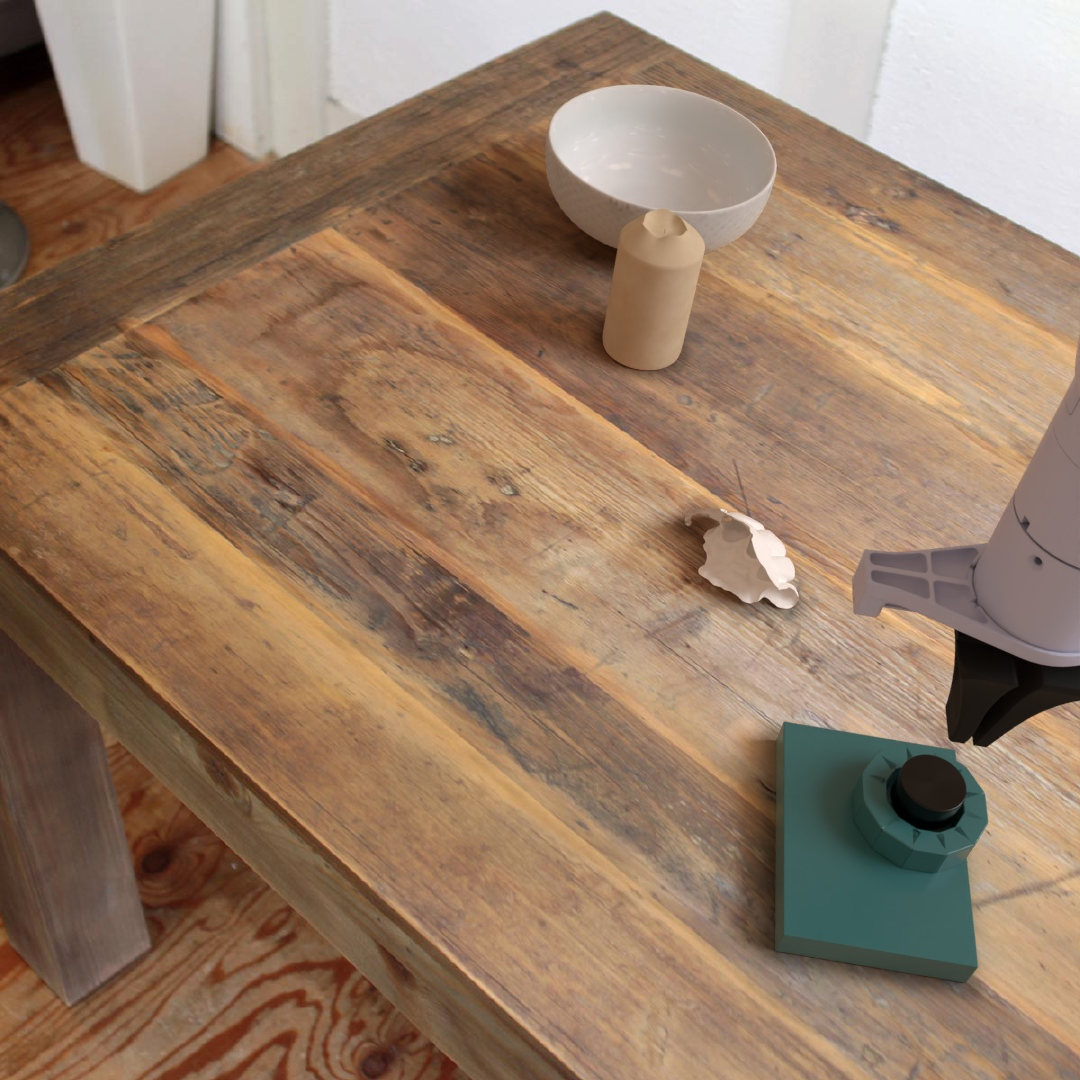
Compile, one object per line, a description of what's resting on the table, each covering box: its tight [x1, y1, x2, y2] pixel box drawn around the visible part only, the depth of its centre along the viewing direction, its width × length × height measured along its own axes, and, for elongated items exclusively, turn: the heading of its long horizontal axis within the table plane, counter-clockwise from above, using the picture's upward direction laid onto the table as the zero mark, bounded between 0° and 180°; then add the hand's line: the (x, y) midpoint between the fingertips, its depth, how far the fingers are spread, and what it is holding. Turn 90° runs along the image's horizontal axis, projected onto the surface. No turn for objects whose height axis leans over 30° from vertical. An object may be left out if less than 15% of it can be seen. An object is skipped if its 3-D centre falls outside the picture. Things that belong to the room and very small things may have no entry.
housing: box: [774, 721, 989, 984], centre depth 65 cm, size 12×10×4 cm
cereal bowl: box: [544, 83, 778, 255], centre depth 99 cm, size 17×17×7 cm
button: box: [890, 754, 967, 830], centre depth 64 cm, size 3×3×2 cm
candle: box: [602, 209, 705, 371], centre depth 88 cm, size 6×6×10 cm
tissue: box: [681, 507, 800, 610], centre depth 77 cm, size 6×8×4 cm
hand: (966, 726), depth 60 cm, fingers closed
